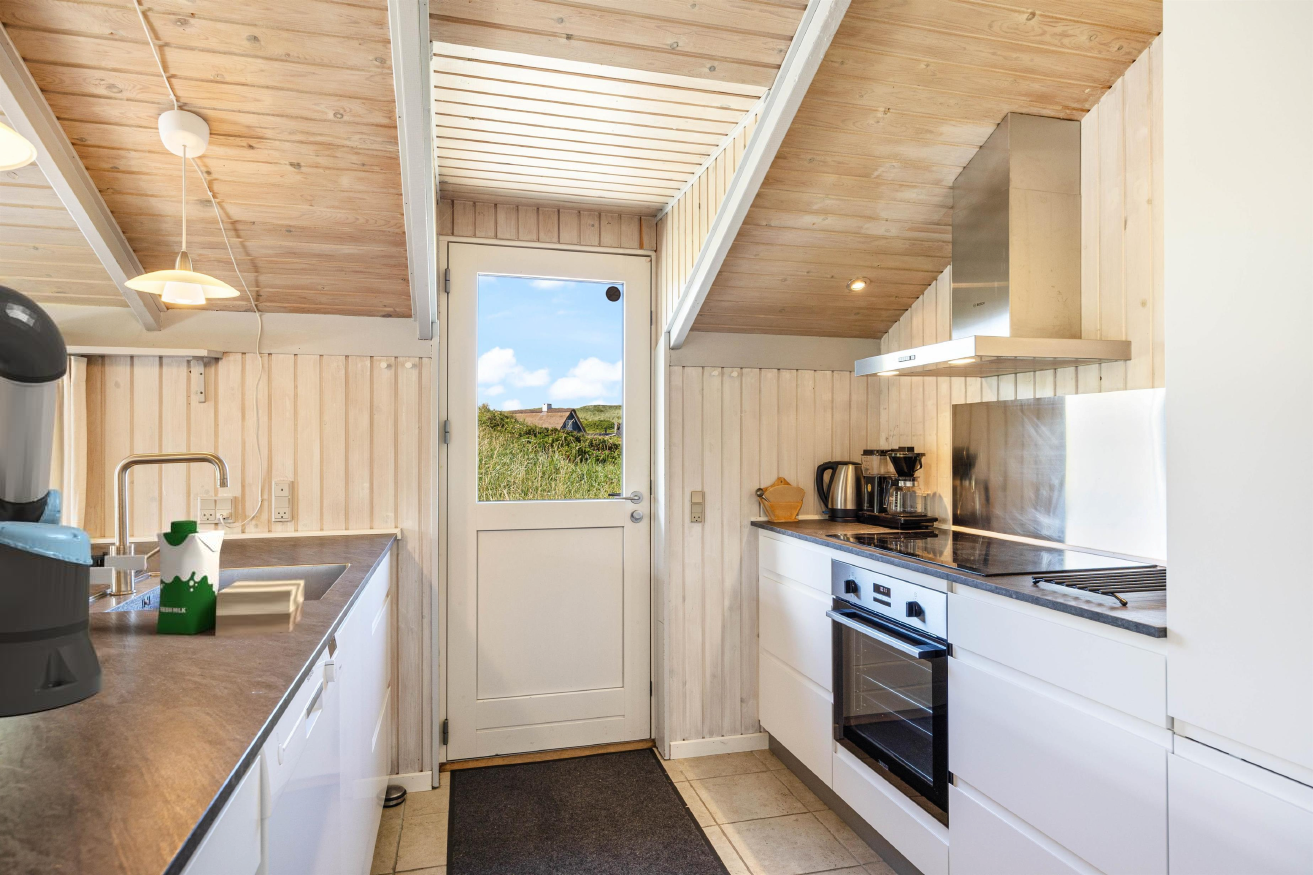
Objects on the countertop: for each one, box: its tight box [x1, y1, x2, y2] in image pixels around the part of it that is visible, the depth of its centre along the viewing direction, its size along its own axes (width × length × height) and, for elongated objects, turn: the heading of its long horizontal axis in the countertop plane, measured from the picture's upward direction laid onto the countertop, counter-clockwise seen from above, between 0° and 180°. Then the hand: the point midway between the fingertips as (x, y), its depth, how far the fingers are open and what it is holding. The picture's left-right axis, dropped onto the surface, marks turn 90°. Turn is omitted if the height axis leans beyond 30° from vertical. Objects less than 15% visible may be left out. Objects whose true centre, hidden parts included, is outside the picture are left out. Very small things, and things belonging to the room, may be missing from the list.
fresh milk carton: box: [156, 520, 226, 635], centre depth 134 cm, size 9×9×20 cm
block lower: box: [215, 600, 304, 637], centre depth 137 cm, size 12×12×4 cm
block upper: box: [216, 579, 306, 615], centre depth 137 cm, size 12×12×4 cm
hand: (130, 568), depth 131 cm, fingers open, 13 cm apart
